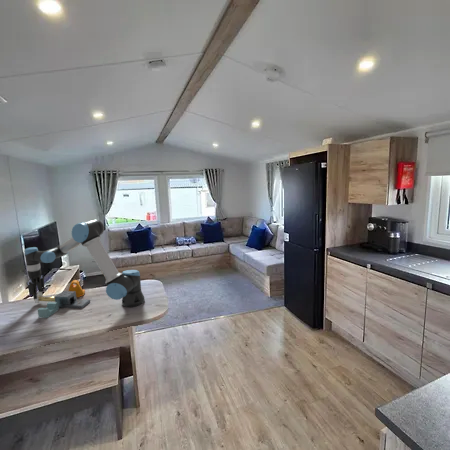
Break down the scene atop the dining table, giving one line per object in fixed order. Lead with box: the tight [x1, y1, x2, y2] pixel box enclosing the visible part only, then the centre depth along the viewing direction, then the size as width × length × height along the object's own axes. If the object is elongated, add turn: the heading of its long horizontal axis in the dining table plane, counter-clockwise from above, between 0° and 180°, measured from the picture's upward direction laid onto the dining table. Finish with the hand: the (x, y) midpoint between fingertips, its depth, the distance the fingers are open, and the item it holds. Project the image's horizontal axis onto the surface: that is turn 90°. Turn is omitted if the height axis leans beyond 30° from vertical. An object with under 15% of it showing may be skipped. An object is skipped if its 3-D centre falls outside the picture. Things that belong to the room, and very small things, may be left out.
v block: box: [37, 301, 59, 319], centre depth 175 cm, size 6×10×6 cm, turn 174°
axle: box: [33, 296, 55, 302], centre depth 189 cm, size 18×3×3 cm, turn 84°
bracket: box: [67, 279, 86, 298], centre depth 201 cm, size 11×7×12 cm, turn 108°
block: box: [54, 290, 91, 309], centre depth 187 cm, size 19×9×8 cm, turn 84°
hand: (39, 301), depth 190 cm, fingers closed on axle, 3 cm apart
